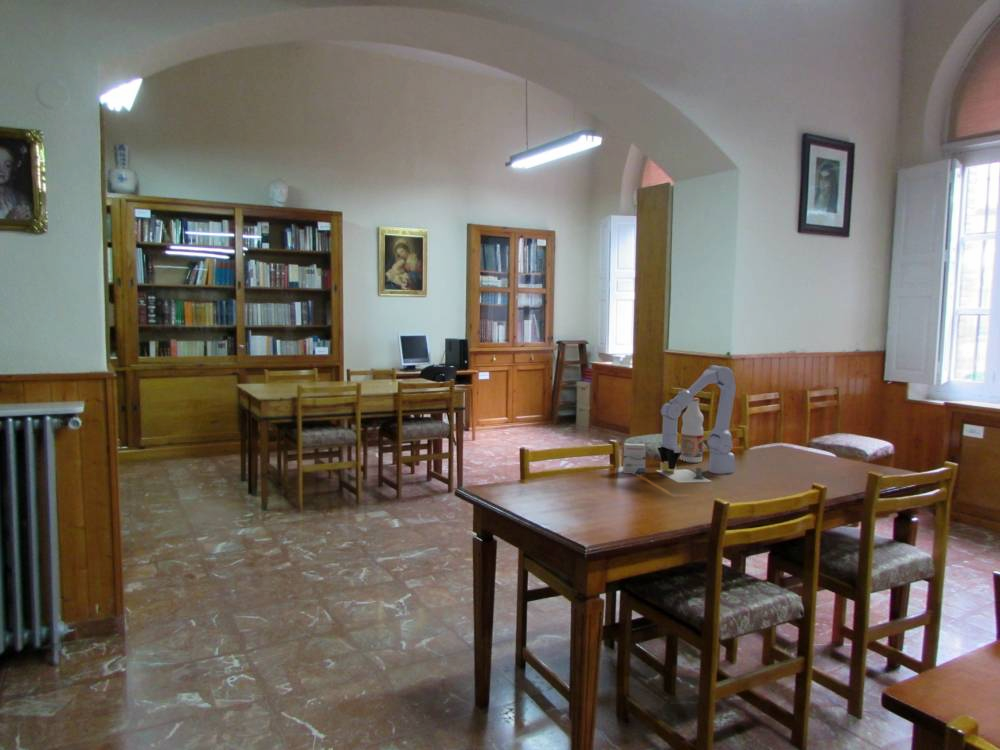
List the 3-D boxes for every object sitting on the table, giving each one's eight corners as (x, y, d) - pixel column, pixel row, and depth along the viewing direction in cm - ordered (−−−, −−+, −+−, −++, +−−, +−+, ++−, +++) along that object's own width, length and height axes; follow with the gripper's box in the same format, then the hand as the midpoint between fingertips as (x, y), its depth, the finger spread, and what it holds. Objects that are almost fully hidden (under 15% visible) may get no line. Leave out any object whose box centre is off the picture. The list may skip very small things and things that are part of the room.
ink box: (643, 471, 272) (644, 443, 271) (645, 474, 267) (646, 445, 266) (622, 471, 272) (623, 442, 271) (623, 473, 267) (624, 444, 266)
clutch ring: (671, 468, 269) (671, 460, 269) (677, 470, 263) (678, 463, 263) (658, 468, 268) (658, 461, 268) (664, 471, 262) (664, 463, 262)
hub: (670, 471, 269) (671, 460, 268) (676, 474, 264) (676, 463, 264) (659, 471, 268) (660, 460, 267) (665, 474, 263) (665, 463, 263)
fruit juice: (677, 458, 300) (680, 396, 297) (698, 458, 300) (701, 397, 297) (682, 462, 291) (685, 399, 288) (704, 463, 290) (707, 399, 288)
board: (687, 471, 273) (687, 459, 273) (712, 483, 254) (712, 471, 253) (655, 472, 270) (656, 460, 270) (678, 485, 251) (678, 472, 250)
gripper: (652, 430, 271) (651, 463, 272) (668, 436, 257) (667, 471, 258) (668, 430, 272) (667, 462, 273) (685, 436, 258) (683, 471, 259)
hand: (668, 467), depth 266 cm, fingers closed on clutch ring, 5 cm apart
